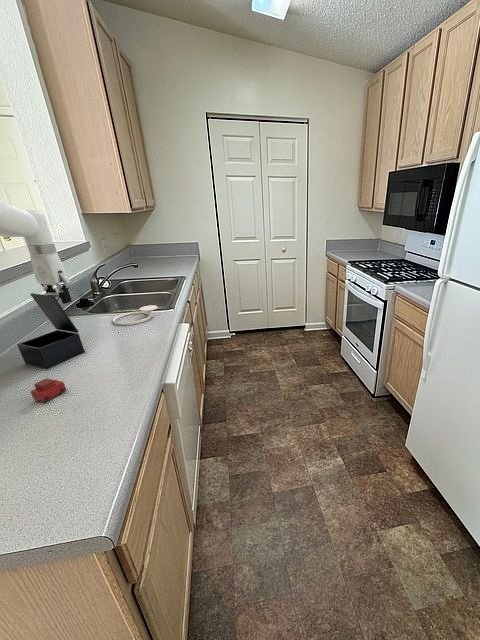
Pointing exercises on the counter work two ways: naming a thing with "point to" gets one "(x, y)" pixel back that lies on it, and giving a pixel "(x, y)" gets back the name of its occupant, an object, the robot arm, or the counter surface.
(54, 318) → the box lid
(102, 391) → the counter surface
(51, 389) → the toy car
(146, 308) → the hand towel holder
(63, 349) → the open lidded box
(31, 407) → the counter surface
